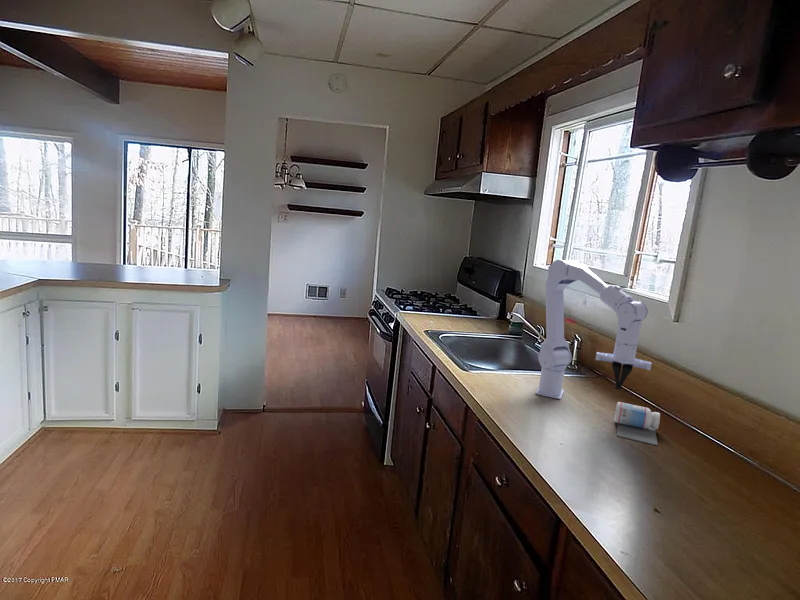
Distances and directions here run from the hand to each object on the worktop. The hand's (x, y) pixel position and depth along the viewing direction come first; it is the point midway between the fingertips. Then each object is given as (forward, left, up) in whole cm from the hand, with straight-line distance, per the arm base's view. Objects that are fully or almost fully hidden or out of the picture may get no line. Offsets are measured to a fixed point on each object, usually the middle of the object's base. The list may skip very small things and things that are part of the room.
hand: (617, 388), depth 147 cm
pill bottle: (+1, 0, -7) cm, 7 cm away
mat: (0, +7, -10) cm, 12 cm away
